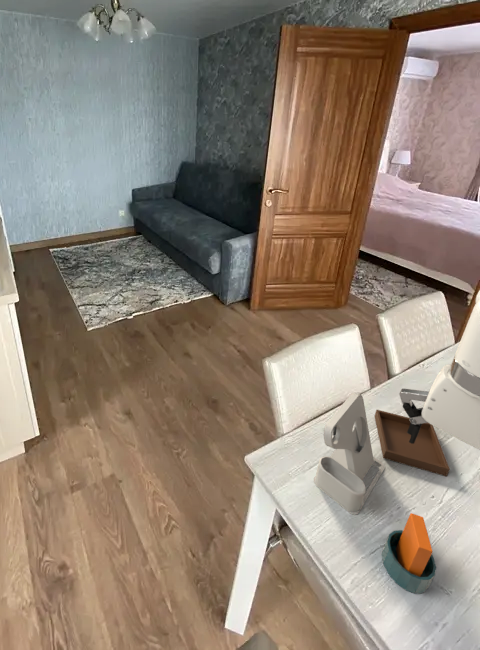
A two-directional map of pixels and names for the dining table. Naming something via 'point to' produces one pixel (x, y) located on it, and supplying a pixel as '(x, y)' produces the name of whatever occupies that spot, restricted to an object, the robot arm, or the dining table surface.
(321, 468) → the phone holder
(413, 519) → the block
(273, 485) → the dining table surface
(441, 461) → the tray
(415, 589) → the cup
